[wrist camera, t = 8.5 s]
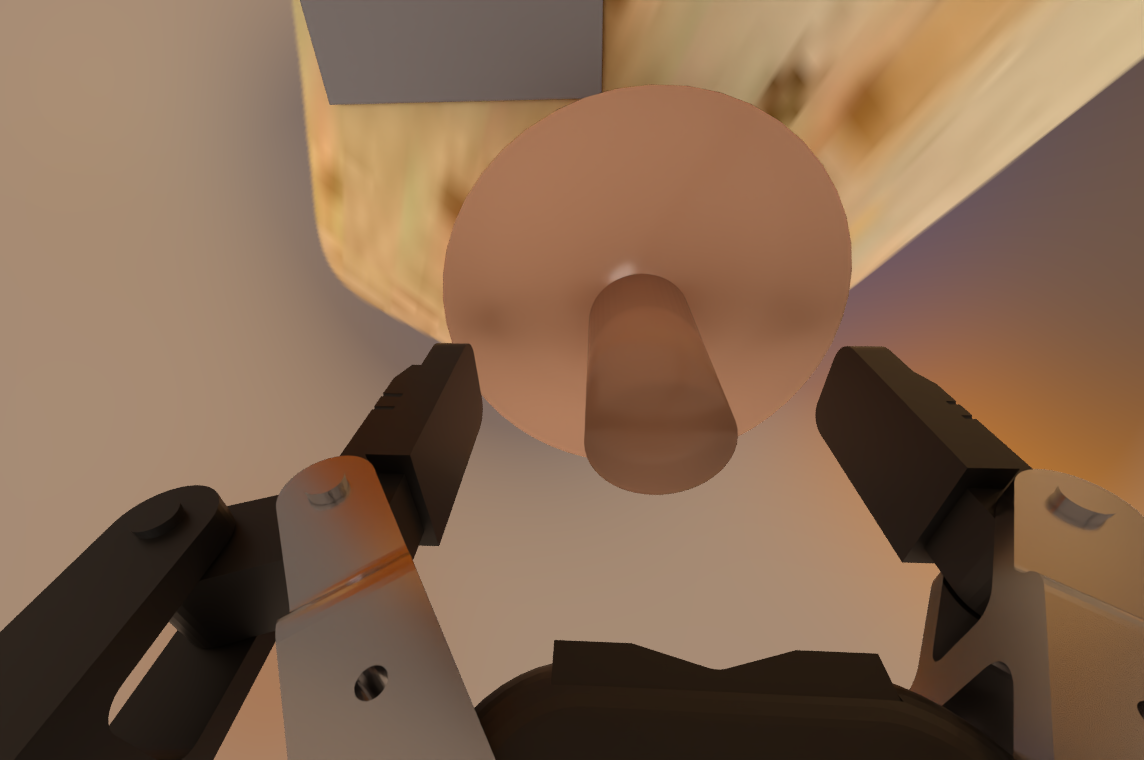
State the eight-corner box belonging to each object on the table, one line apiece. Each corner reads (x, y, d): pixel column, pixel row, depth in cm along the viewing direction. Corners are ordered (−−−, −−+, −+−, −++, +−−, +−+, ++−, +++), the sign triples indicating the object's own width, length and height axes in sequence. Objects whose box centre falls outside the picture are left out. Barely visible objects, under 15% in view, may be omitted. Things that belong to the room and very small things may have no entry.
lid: (904, 75, 9) (1224, 65, 5) (782, 448, 16) (864, 610, 11) (410, 94, 10) (239, 102, 5) (481, 445, 16) (432, 595, 11)
